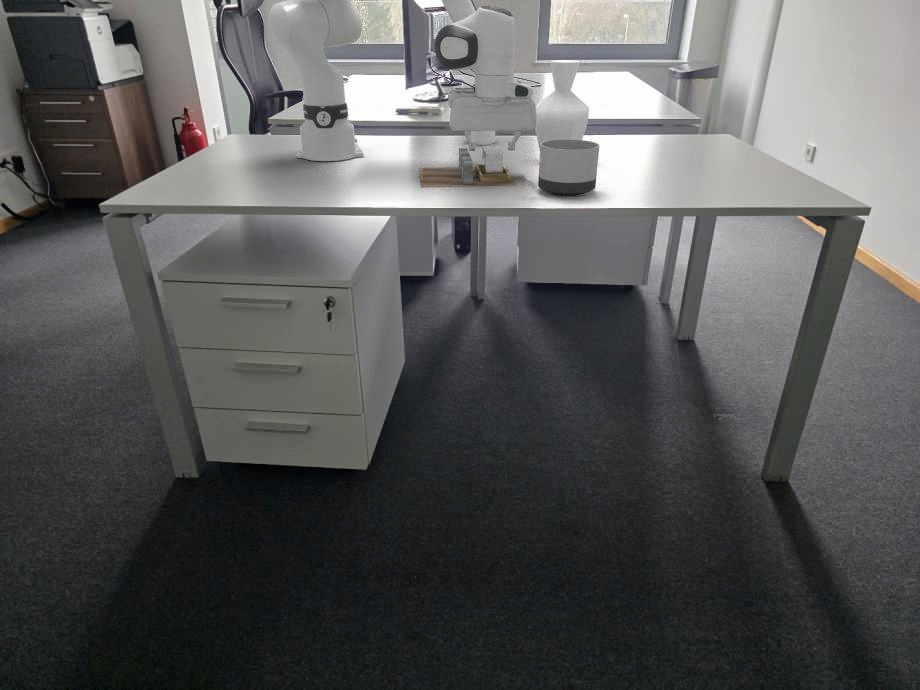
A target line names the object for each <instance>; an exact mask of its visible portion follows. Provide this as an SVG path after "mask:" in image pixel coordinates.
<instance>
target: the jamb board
mask: <svg viewBox="0 0 920 690" xmlns="http://www.w3.org/2000/svg"><path fill="white" fill-rule="evenodd" d="M474 165H475V166H474ZM419 184H420V188H458V187H459V188H460V187H462V188H465V187H466V188H467V187H470V188H471V187H506V186H507V187H510V186H511V187H512V186H513V187H514V186H515V187H516V186H518V184H517V183H516V181H515V180H514V178H513V177H512V175H511V173H510V172H509V170H508V167H507V166H506V164H505V163H503V174H483V173H482V163H481V164H474V161H473V160H472V157H471V155H470V151H469V149H468V148H466V147H465V148H464V147H463V148H462V147H461V148H458V166H453V167H450V166H448V167H445V166H443V167H419Z"/></svg>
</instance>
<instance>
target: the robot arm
mask: <svg viewBox="0 0 920 690" xmlns="http://www.w3.org/2000/svg"><path fill="white" fill-rule="evenodd" d="M441 3H442V4H443V6H444V8H445V11H446V12H447V14H448V17H449V19H450V21H451V22H452V23H450V24H446V25H445V26H443V27H442V28H441V29H439V31H438V32H437V34H436V36H435V39H434V53H435V56H436V60H437V61H438V62H439V64H440V65H442V67H444V68H445V69H448V70H452V71H464V70H465V71H466V70H470V69H471V70H474V85H473V86H474V87H455V88H454V89H452V90H451V91H450V92H448V97H447V104H448V107H449V108H450V111H449V122H448V123H449V128H450V129H451V130H452V131H454V132H464V133H463V134H464V137H465V139H466V141H467V143H468V142H469V143H468V152H472V151H474V152H475V151H476V146H477V145H476V143H475V142H471V140H470V138H469V136H471V131H495V132H507V131H508V132H512V131H513V135H514V136H513V138H512V140H511V141H507V142H508V143H507V150H508V151H515V150H516V144H517V142H518V140H519V139H520V137H521V133H522V132H523V131H525V132H526V131H529V132H531V131H534V130H535V127H536V103H535V101H534V99H532V97H533V95H534V89H533V87H532V86H530V85H529V84H527V83H523V82H521V81H519V80H515V78H514V77H515V71H514V64H513V61H514V57H515V53H516V26H515V23H516V22H515V19H514V15H513V14H512V13H511V11H509V10H508V9H505V8H503V7H498V6H492V5H482V6H479V8H477V7H476V5H475V2H474V1H473V0H441ZM267 21H268V28H269V31H270V34H271V36H272V38H273V39H274V41H275V42H276V43H277V44H278V45H280V46H281V47H282V48H283V49H284V50H286V52H287V53H288V54H289V56H290V57H291V58H292V61H294V63H295V66H296V67H297V71H298V74H299V77H300V82H301V88H302V95H303V105H302V112H303V118H304V122H303V123H301V125H300V126H299V131H300V143H301V151H299V152H296V158H298V159H305V160H309V161H313V162H314V161H315V162H336V161H337V162H338V161H344V160H349V159H354V158H359V157H364V155H365V154H364V151H363V150H362V148H361V147H360V146H359V144H358V140H357V137H356V136H355V134H356V133H355V127H354V125H353V123H352V122H351V121H350V120H349V118H348V117H349V109H348V104H347V102H346V96H345V85H344V82H345V81H344V75H343V73H342V70H340V68H339V67H338V66H336V65H334V64H333V63H331V62H330V61H329V60H328V59H327V57H326V54H325V52H324V48H336V47H340V48H341V47H345V46H347V45H351V44H354V43H355V42H358V40H359V39H360V37H361V35H362V31H363V19H362V15H361V14H360V11H359V9H358V7H357V6H356V5H355V4H354V3H353V2H352V0H283V1H280V2H276V3H274V4H273V5H272V6H271V9H270V10H269V14H268V20H267ZM468 135H469V136H468Z"/></svg>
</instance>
